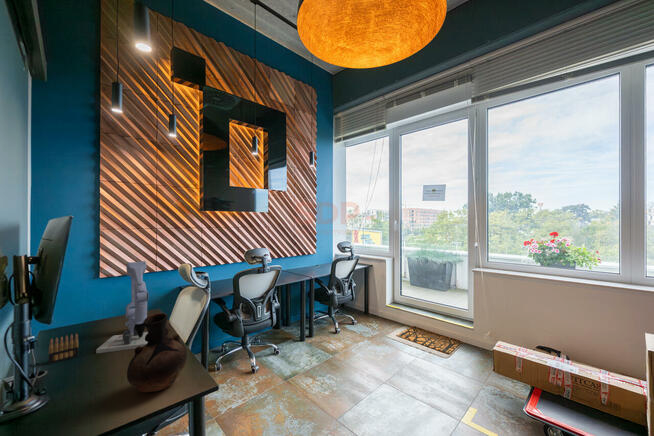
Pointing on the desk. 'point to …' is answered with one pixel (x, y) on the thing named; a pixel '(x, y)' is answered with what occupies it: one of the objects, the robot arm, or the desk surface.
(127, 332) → the block
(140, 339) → the breaker panel
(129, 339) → the block
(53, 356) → the ammunition clip
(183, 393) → the desk surface
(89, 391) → the desk surface
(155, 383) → the ceramic vessel
